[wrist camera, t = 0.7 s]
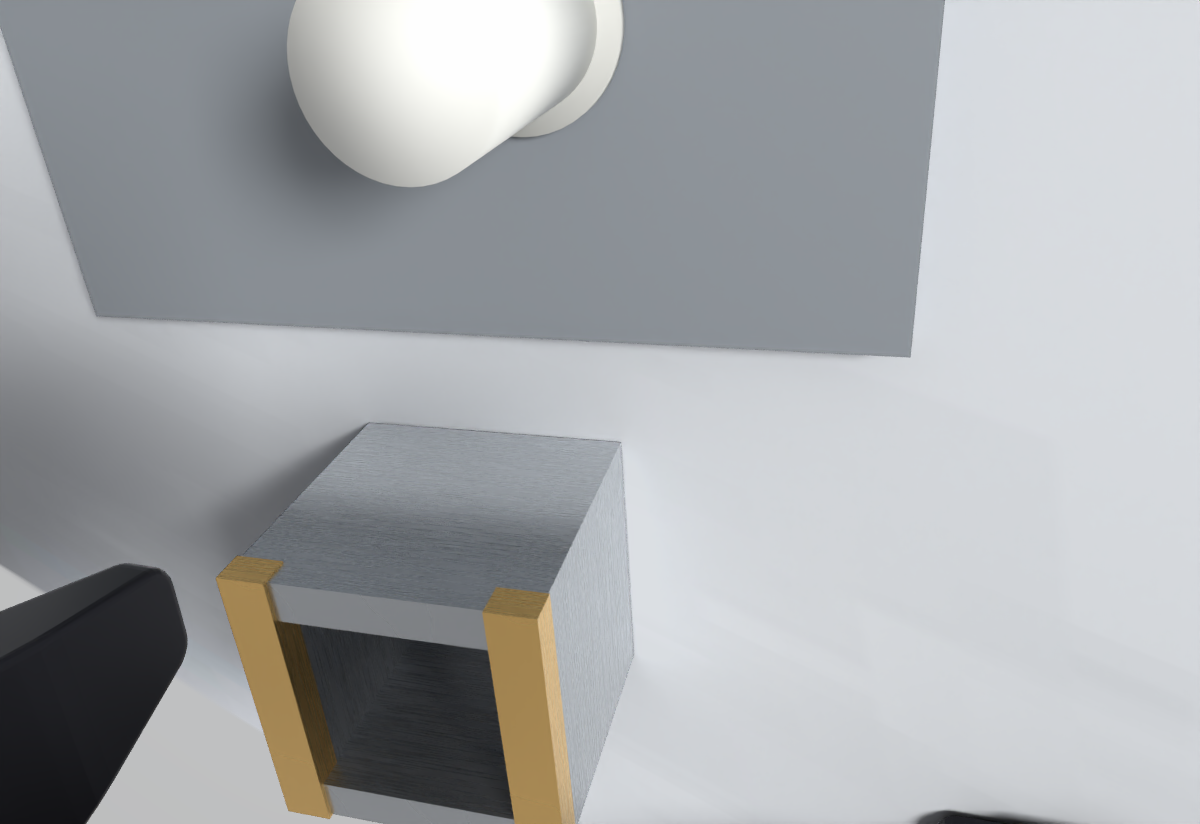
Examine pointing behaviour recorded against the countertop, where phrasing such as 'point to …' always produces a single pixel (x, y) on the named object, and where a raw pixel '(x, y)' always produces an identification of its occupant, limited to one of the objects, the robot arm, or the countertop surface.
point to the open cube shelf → (440, 627)
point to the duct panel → (495, 164)
